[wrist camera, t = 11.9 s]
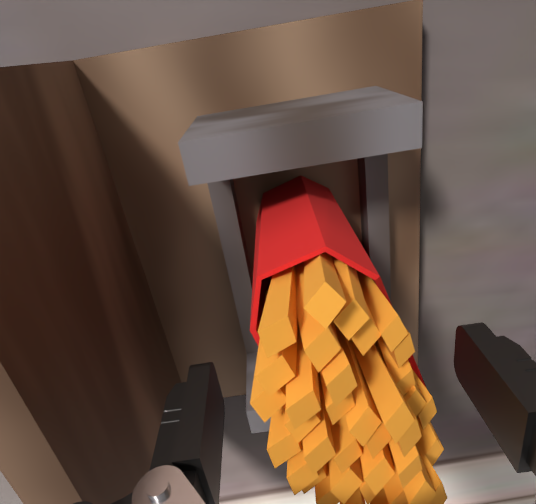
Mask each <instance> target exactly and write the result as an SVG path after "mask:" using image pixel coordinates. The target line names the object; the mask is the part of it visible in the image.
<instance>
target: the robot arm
mask: <svg viewBox="0 0 536 504" xmlns="http://www.w3.org/2000/svg"><path fill="white" fill-rule="evenodd" d="M454 368H455V372H456V375H457V378H458V380H459V382H460V383H461V385H462V387H463V388H464V390H465V391H466V393H467V394H468V396H469V398H470V399H471V401H472V402H473V404H474V406H475V407H476V409H477V410H478V412H479V413H480V415H481V417H482V418H483V420H484V421H485V423H486V424H487V426H488V428H489V429H490V431H491V432H492V434H493V436H494V437H495V439H496V440H497V442H498V443H499V445H500V447H501V448H502V450H503V451H504V453H505V454H506V456H507V458H508V459H509V461H510V462H511V464H512V466H513V467H514V469H515V470H516V472H517V473H521V472H529V471H533V473H534V474H535V476H536V363H535V361H534V360H531V357H530V356H529V355H528V354H527V353H526V352H525V350H524V349H523V348H522V347H521V346H520V345H518V344H517V343H515V342H513V341H512V340H510V339H508V338H506V337H505V336H499V337H496V336H495V335H494V334H493V333H492V331H491V330H490V329H489V328H488V327H487V326H486V325H485V324H484V323H475V324H468V325H461V326H458V327H457V329H456V339H455V354H454ZM163 411H164V413H163V414H162V419H161V425H160V427H159V432H158V436H157V440H156V444H155V449H154V453H153V457H152V462H151V466H150V469H149V472H147V473H146V474H145V475H144V476H143V477H142V478H141V479H140V480H139V481H138V483H137V484H136V486H135V488H134V491H133V492H132V493H130V494H129V495H127V496H126V497H124V498H122V499H120V500H117V501H115V502H113V503H111V504H219V493H220V477H221V461H222V446H223V430H224V400H223V395H222V391H221V388H220V384H219V380H218V377H217V373H216V369H215V366H214V363H213V362H208V363H201V364H194V365H190V367H189V371H188V377H187V382H182V383H176V384H175V385H174V387H173V388H172V390H171V391H170V392H169V394H168V395H167V397H166V402H165V406H164V410H163ZM73 504H93V503H91V502H87V501H81V502H76V503H73ZM534 504H536V496H535V503H534Z"/></svg>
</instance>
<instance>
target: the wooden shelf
mask: <svg viewBox="0 0 536 504" xmlns="http://www.w3.org/2000/svg"><path fill="white" fill-rule="evenodd" d="M422 13H423V0H413V1H407V2H402V3H396V4H390V5H385V6H379V7H373V8H368V9H362V10H356V11H351V12H345V13H339V14H334V15H328V16H322V17H317V18H311V19H305V20H300V21H294V22H288V23H283V24H277V25H271V26H266V27H260V28H254V29H249V30H243V31H237V32H232V33H226V34H220V35H215V36H209V37H203V38H198V39H192V40H186V41H181V42H175V43H169V44H164V45H158V46H152V47H147V48H141V49H135V50H130V51H124V52H118V53H113V54H107V55H101V56H96V57H90V58H84V59H79V60H73V61H63V62H52V63H42V64H31V65H20V66H9V67H0V471H1V472H2V473H3V475H4V476H5V478H6V479H7V481H8V482H9V483H10V485H11V486H12V488H13V489H14V491H15V492H16V493H17V495H18V496H19V498H20V499H21V501H22V502H23V504H73V503H76V502H81V501H87V502H91V503H93V504H111V503H113V502H115V501H117V500H120V499H122V498H124V497H126V496H127V495H129V494H130V493H132V492H133V491H134V488H135V486H136V484H137V483H138V481H139V480H140V479H141V478H142V477H143V476H144V475H145V474H146V473H147V472H149V469H150V466H151V462H152V457H153V453H154V449H155V444H156V440H157V436H158V432H159V427H160V425H161V419H162V414H163V413H164V411H163V410H164V406H165V402H166V397H167V395H168V394H169V392H170V391H171V390H172V388H173V387H174V385H175V384H176V383H182V382H187V377H188V371H189V367H190V365H194V364H201V363H208V362H213V363H214V366H215V369H216V373H217V377H218V380H219V384H220V388H221V391H222V395H223V398H224V397H231V396H238V395H245V394H246V414H247V418H248V421H249V425H250V429H251V433H259V432H266V431H269V429H270V421H271V417H270V418H269V419H268V420H267V421H266V422H265V423H264V421H263V420H262V419H261V418H260V416H259V415H258V414H257V412H256V411H255V410H254V408H253V407H252V406H251V405H250V399H251V393H252V386H253V379H254V372H255V366H256V359H257V353H258V345H257V343H256V341H255V339H254V337H253V336H252V334H251V332H250V319H251V303H252V286H253V270H254V253H255V237H256V221H257V217H258V213H259V209H260V204H261V200H262V196H263V193H265V192H267V191H269V190H271V189H273V188H275V187H277V186H279V185H282V184H284V183H286V182H288V181H290V180H292V179H294V178H296V177H298V176H300V175H301V176H303V177H306V178H308V179H310V180H312V181H314V182H316V183H319V184H321V185H323V186H325V187H327V188H329V189H330V191H331V193H332V195H333V196H334V198H335V200H336V202H337V203H338V205H339V207H340V208H341V210H342V212H343V214H344V215H345V217H346V219H347V220H348V222H349V224H350V226H351V227H352V229H353V231H354V232H355V234H356V236H357V238H358V239H359V241H360V243H361V245H362V246H363V248H364V250H365V251H366V253H367V255H368V257H369V258H370V260H371V262H372V263H373V265H374V267H375V269H376V270H377V272H378V274H379V275H380V278H381V280H382V282H383V285H384V287H385V290H386V292H387V295H388V297H389V300H390V302H391V305H392V307H393V309H394V310H395V311H396V313H397V314H398V316H399V317H400V319H401V321H402V323H403V325H404V327H405V328H406V329H407V330H408V332H409V333H410V335H411V339H412V342H413V346H414V350H415V352H414V353H413V357H414V359H415V362H416V364H417V366H418V313H419V238H420V163H421V148H422V118H423V101H421V88H422Z"/></svg>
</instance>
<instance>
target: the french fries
mask: <svg viewBox="0 0 536 504" xmlns="http://www.w3.org/2000/svg"><path fill="white" fill-rule="evenodd" d="M250 332H251V334H252V336H253V337H254V339H255V341H256V343H257V345H258V353H257V359H256V366H255V372H254V379H253V386H252V393H251V399H250V405H251V406H252V407H253V408H254V410H255V411H256V412H257V414H258V415H259V416H260V418H261V419H262V420H263V421H264V423H265V422H266V421H267V420H268V419H269V418H270V417H271V421H270V429H269V436H268V444H267V451H268V454H269V456H270V458H271V461H272V463H273V465H274V468H276V467H278V466H279V465H281V464H282V463H284V462H285V461H287V460H288V462H287V480H288V482H289V484H290V486H291V489H292V491H293V493H294V495H296V494H297V493H298V492H300V491H301V490H302V491H303V493H304V494H305V493H306V492H307V491H309V490H310V489H311V488H313V487H314V486H315V493H316V503H317V504H337V503H338V502H340V504H365V501H366V503H367V504H369V503H370V504H444V502H445V501H446V499H447V496H446V493H445V490H444V487H443V484H442V482H441V480H440V479H439V477H438V475H437V474H436V472H435V470H434V469H433V467H432V466H433V465H434V463H435V462H436V460H437V459H438V457H439V456H440V454H441V453H442V451H443V450H444V448H443V446H442V444H441V442H440V440H439V438H438V436H437V434H436V432H435V430H434V428H433V426H432V424H431V422H430V421H431V419H432V418H433V417H434V415H435V414H436V413H437V410H436V407H435V404H434V400H433V397H432V396H431V394H430V393H429V392H428V390H427V388H426V386H425V383H424V381H423V378H422V376H421V374H420V371H419V369H418V366H417V364H416V362H415V359H414V357H413V353H414V352H415V350H414V346H413V342H412V339H411V335H410V333H409V332H408V330H407V329H406V328H405V327H404V325H403V323H402V321H401V319H400V317H399V316H398V314H397V313H396V311H395V310H394V309H393V307H392V305H391V302H390V300H389V297H388V295H387V292H386V290H385V287H384V285H383V282H382V280H381V278H380V275H379V274H378V272H377V270H376V269H375V267H374V265H373V263H372V262H371V260H370V258H369V257H368V255H367V253H366V251H365V250H364V248H363V246H362V245H361V243H360V241H359V239H358V238H357V236H356V234H355V232H354V231H353V229H352V227H351V226H350V224H349V222H348V220H347V219H346V217H345V215H344V214H343V212H342V210H341V208H340V207H339V205H338V203H337V202H336V200H335V198H334V196H333V195H332V193H331V191H330V189H329V188H327V187H325V186H323V185H321V184H319V183H316V182H314V181H312V180H310V179H308V178H306V177H303V176H301V175H300V176H298V177H296V178H294V179H292V180H290V181H288V182H286V183H284V184H282V185H279V186H277V187H275V188H273V189H271V190H269V191H267V192H265V193H263V196H262V200H261V204H260V209H259V213H258V217H257V221H256V237H255V253H254V270H253V286H252V303H251V319H250Z"/></svg>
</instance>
